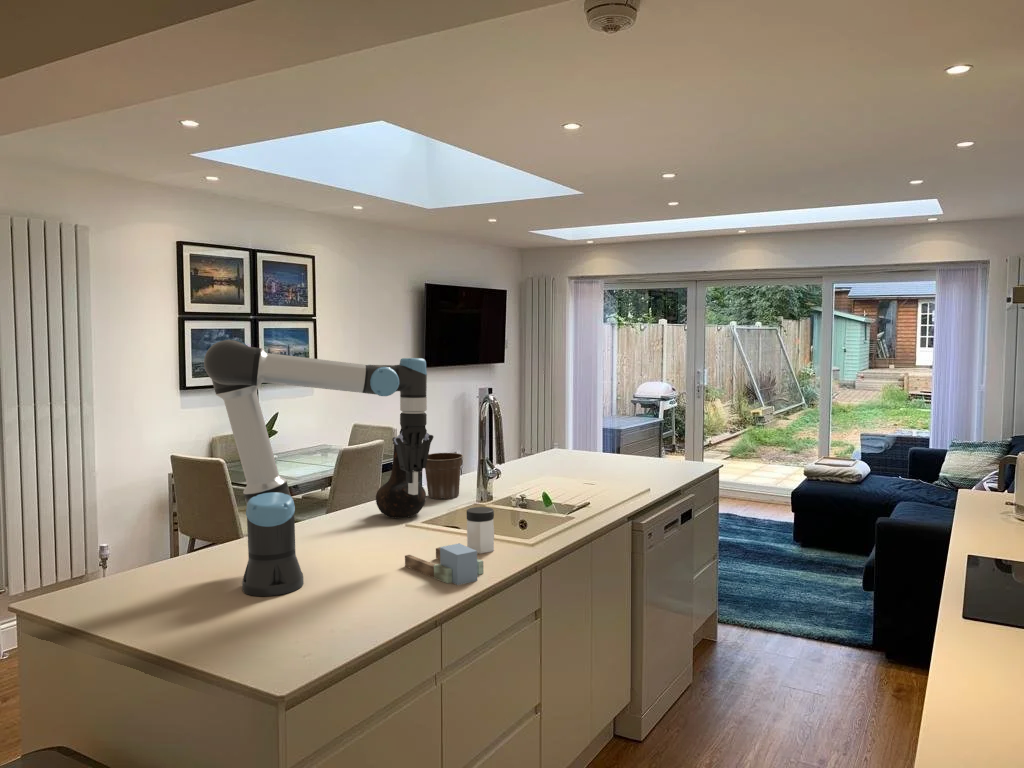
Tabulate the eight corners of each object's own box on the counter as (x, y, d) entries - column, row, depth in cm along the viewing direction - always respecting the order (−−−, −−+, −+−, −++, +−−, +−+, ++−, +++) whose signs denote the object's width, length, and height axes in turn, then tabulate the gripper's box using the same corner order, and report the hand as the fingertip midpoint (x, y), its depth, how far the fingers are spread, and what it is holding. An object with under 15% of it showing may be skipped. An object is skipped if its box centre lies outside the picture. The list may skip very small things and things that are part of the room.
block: (440, 576, 205) (439, 547, 204) (459, 572, 208) (459, 543, 208) (457, 585, 197) (457, 555, 197) (477, 580, 201) (477, 550, 200)
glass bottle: (386, 524, 260) (384, 442, 258) (369, 513, 276) (367, 436, 274) (434, 517, 269) (432, 438, 267) (415, 507, 285) (413, 432, 283)
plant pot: (446, 502, 292) (446, 460, 291) (414, 498, 301) (413, 457, 300) (472, 494, 306) (471, 454, 304) (440, 490, 314) (439, 451, 313)
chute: (405, 566, 214) (404, 553, 213) (440, 557, 222) (440, 545, 221) (447, 583, 199) (447, 570, 198) (483, 573, 206) (483, 560, 206)
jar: (494, 553, 225) (494, 513, 224) (466, 554, 224) (466, 513, 224) (494, 545, 234) (493, 506, 233) (467, 545, 233) (466, 506, 233)
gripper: (424, 409, 226) (423, 489, 227) (386, 412, 217) (386, 494, 218) (439, 411, 220) (439, 493, 221) (401, 414, 211) (401, 498, 213)
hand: (413, 493), depth 220 cm, fingers closed
